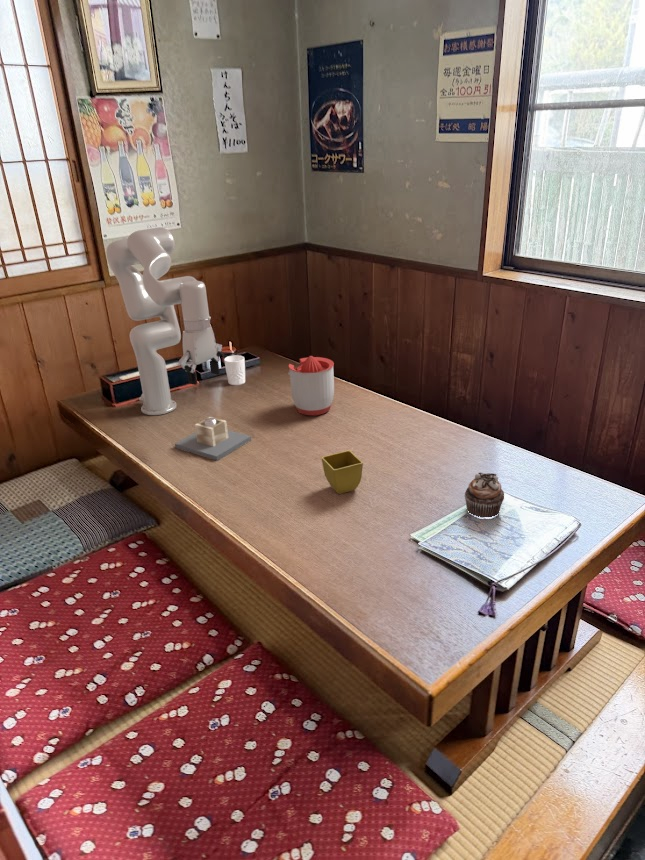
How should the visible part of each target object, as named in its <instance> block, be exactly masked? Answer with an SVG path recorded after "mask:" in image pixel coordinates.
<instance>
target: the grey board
mask: <svg viewBox="0 0 645 860" xmlns="http://www.w3.org/2000/svg"><path fill="white" fill-rule="evenodd" d="M227 430H228V438H227V439H226V440H224V441H222V442H220V443H219V444H217V445H215V446H214V447H213V446H210V445H207V444H203V443H200V442H197V437H196V431H195V432H194V433H192V434H190V435H188V436H186V437H185V438H183V439H181V440H179V441H177V442H175V443H174V447H175V449H178V450H181V451H184V452H186V453H187V452H188V453H190V452H191V453H190V454H194V455H197V456H201V457H204V458H207V459H209V460H213V461H215V462H218V461H220V460H221V459H223V458H224V457H226V456H228V455H229V454H231V453H232V451H233V452H235V451H236V450H237V448H238V449H240V448H241V447H242V445H243V446H244V445H246V444H248V443H249V442H251V441H252V437H251V435H249V434H244V433H241V432H236V431H235V430H234V431H233V430H230V429H227ZM248 441H249V442H248ZM245 443H246V444H245ZM240 446H241V447H240Z"/></svg>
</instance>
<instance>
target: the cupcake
mask: <svg viewBox="0 0 645 860" xmlns="http://www.w3.org/2000/svg"><path fill="white" fill-rule="evenodd" d="M498 480H499V476H498V475H497V474H496V473H483V472H477V473H475V475H474V478H473V479H472V480H471V481H470V482H469V484H468V487H467V488H466V489H465V492H464V499H465V505H466V506H465V507H466V510H468V511H469V513H471V514H473V515H476V516H478V517H479V516H480V517H492V516H495V515H497V514H498V513H499V514H500V512H499V511H501V507H502V505H503V502H504V500H505V493H504V490H503V489H502V485H501V482H500V481H498ZM468 511H467V512H468ZM469 513H468V514H469ZM499 514H498V515H499Z"/></svg>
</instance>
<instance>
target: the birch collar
mask: <svg viewBox="0 0 645 860" xmlns="http://www.w3.org/2000/svg"><path fill="white" fill-rule="evenodd" d="M207 418H216V423H217V424H216V425H214V426H213V427H208V426H205V421H204V420H205V419H207ZM205 419H202V420H200V421H199V422H197V423H195V424H194V428H195V432H196V437H197V442H200V443H203V444H207V445H210V446H213V447H214V446H215V445H217V444H219V443H220V442H222V441H224V440H226V439H227V438H228V430H229V429H228V423H227V420H225V419H220V418H218V417H213V416H208V417H206V418H205Z"/></svg>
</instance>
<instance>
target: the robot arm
mask: <svg viewBox="0 0 645 860" xmlns="http://www.w3.org/2000/svg"><path fill="white" fill-rule="evenodd" d="M175 248H176V242H175V239H174V236H173V234H172V233H171V232H170V230H168V229H167V228H165V227H155V228H147V229H146V228H145V229H139V230H135V231H133V232H132V233H130V235H129V236H128V237H127V238H124V239H119V240H118V239H117V240H114V241H112V242H110V243H109V244H108V245H107V247H106V251H105V253H106V259H107V262H108V263H107V264H108V265H109V267H110V269H111V271H112V273H113V275H114V276H115V279H116V280H117V281H118V284H119V288H120V292H121V295H122V299H123V300H122V301H123V303H124V306H125V311H126V312H127V315H128V317H129V318H130V319H131V320H132V321H134V322H135V321H136V322H138V321H145V320H150V319H153V318H159V319H160V320H157V321H151V322H147V323H141V324H138V325H136V326H135V327H133V328H132V329H131V330H130V332H129V340H130V344H131V346H132V349H133V352H134V355H135V359H136V364H137V369H138V375H139V380H140V385H141V391H142V394H141V395H140V397H139V398H138V400H139V401H141V402H142V403H143V404H142V406H141V407H140V408H141V413H142V414H144V415H147V416H158V415H159V416H160V415H164V414H169V413H170V412H172V411H174V410H175V409H176V408H177V407H178V406H177V402H176V401H175V400H173V399H172V395H171V389H170V384H169V377H168V371H167V365H166V361H165V359H164V358H163V356H162V355H160V354H159V353H158V352H157V351H158V350H161V349H165V348H168V347H172V346H175V345H178V344H179V343H180V342H181V338H182V354H183V355H182V356H181V358H180V359H179V360H178V364H179V365H180V367H181V369H182V370H184V372H186V374H187V381H188V384H190V385H194V386H196V385H198V378H197V376H198V375H197V372H196V371H195V370H196V368H197V365H201V364H203V363H204V362H207V361H209V369H210V373H211V374H213V375H220V365H219V362H220V357H221V354H222V352H221V351H222V350H223V345H222V344H220V343H216V338H215V333H214V331H213V328H212V325H211V319H212V318H211V316H210V311H209V303H208V296H207V295H208V294H207V288H206V285H205V282H203V281H201V280H197V279H196V278H195V277H194V276H191V275H185V276H181V277H174V278H167V279H163V280H159V279H161V278H162V277H163V276H164V275H166V274H167V273H168V272H169V270H170V268H171V266H172V258H171V256H170V255H171V254H173V252H174V250H175ZM134 265H135V266H136V265H140V266H142V267H143V269H144V270H143V272H142V273H141V272H140V271H139V270H138V269H137V268H136V267H135V266H134ZM179 304H180V305H181V310H182V311H181V313H182V318H183V326H184V330H182V334H181V328H180V325H179V320H178V316H177V312H176V310H175V305H179Z"/></svg>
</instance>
